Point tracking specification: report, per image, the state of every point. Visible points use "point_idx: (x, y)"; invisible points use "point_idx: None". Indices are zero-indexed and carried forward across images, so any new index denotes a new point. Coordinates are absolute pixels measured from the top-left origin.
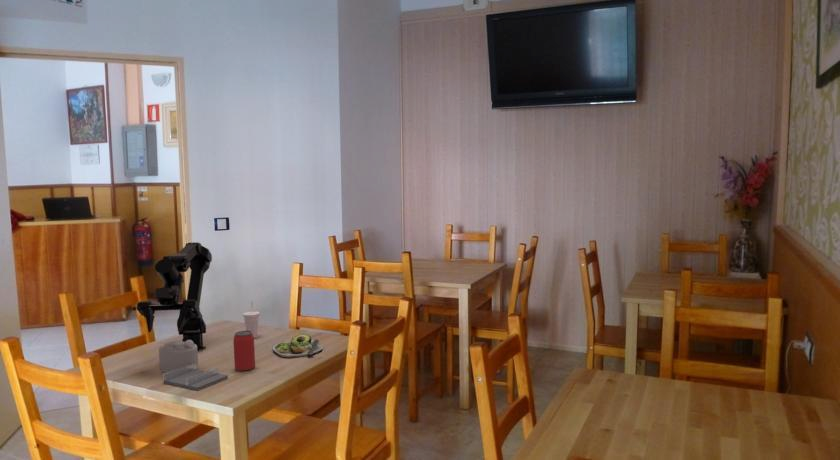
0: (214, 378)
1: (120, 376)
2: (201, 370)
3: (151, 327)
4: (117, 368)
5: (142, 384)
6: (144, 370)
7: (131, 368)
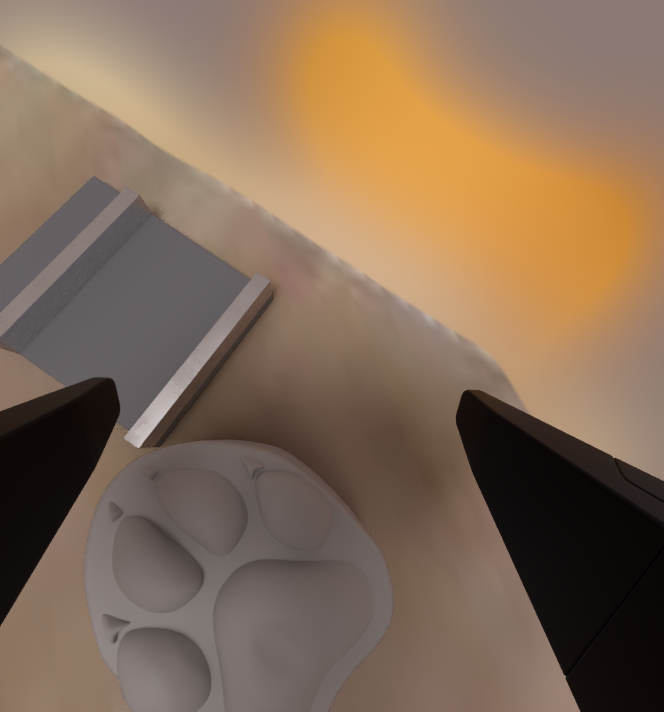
0: (24, 274)
1: None
2: None
3: (485, 471)
4: None
5: (361, 301)
6: (432, 509)
7: None
